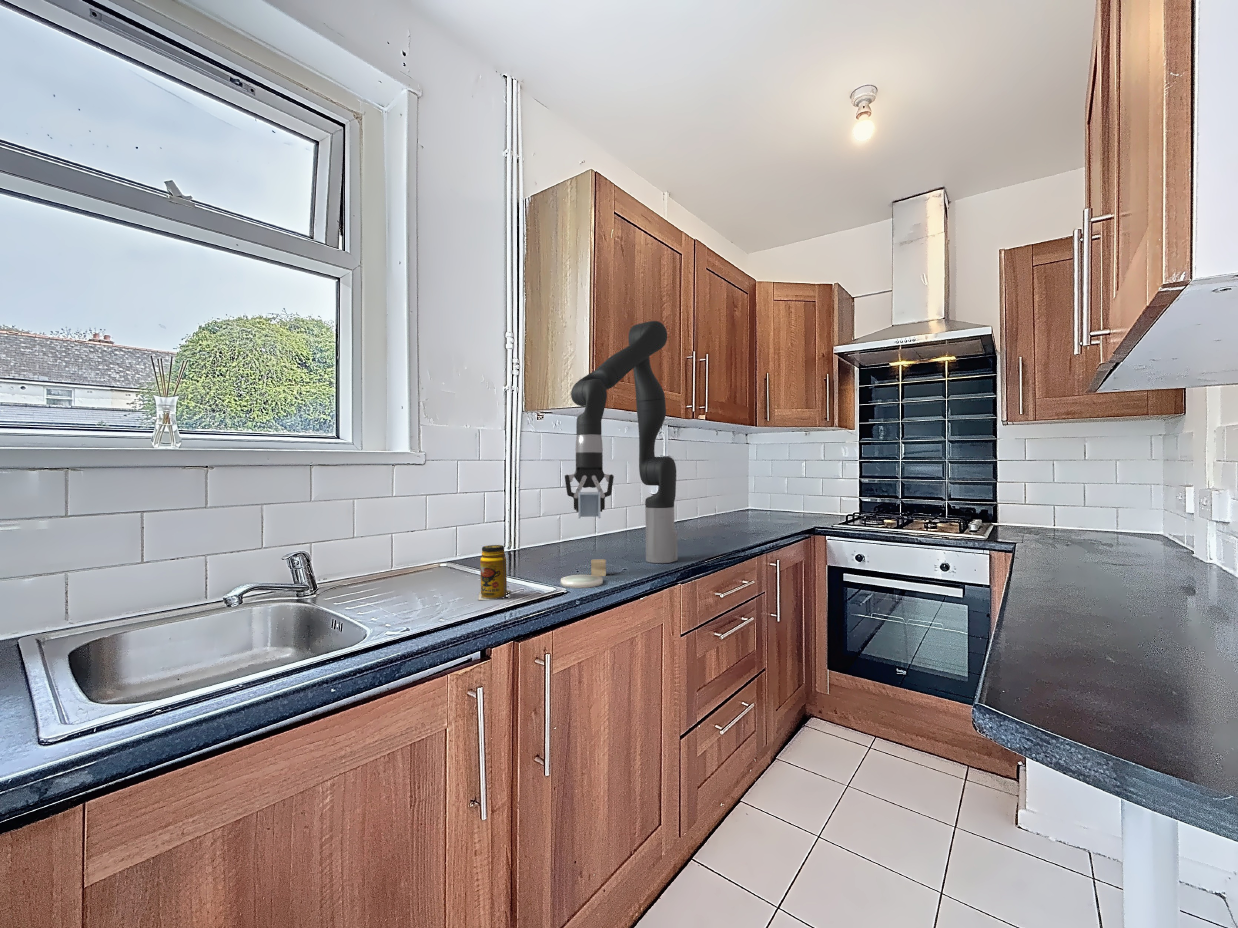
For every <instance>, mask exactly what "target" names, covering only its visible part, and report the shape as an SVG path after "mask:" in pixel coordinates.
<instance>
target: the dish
mask: <svg viewBox="0 0 1238 928" xmlns="http://www.w3.org/2000/svg"><path fill="white" fill-rule="evenodd" d="M603 583H604V578H603V576H596V575H591V574H572V575H567V576H564V577H561V578H560V586H562V587H564V588H571V589H572V588H573V589H586V588H587V589H589V588H595V587H599V586H601V585H603Z"/></svg>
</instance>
